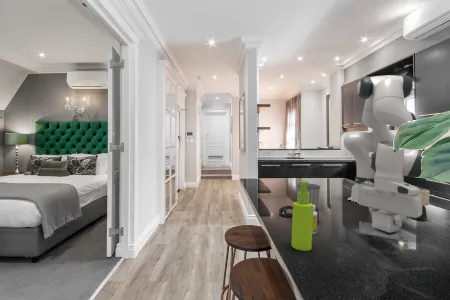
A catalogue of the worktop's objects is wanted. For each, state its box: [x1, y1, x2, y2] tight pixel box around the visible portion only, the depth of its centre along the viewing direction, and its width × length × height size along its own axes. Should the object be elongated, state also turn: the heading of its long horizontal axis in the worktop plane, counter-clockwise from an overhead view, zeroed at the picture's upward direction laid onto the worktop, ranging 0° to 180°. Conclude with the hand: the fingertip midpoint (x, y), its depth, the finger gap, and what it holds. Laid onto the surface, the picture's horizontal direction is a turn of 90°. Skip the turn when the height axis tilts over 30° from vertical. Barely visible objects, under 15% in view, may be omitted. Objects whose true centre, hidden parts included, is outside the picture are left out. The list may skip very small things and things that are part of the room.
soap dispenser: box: [290, 179, 313, 252], centre depth 75 cm, size 6×7×20 cm
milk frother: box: [278, 182, 321, 225], centre depth 102 cm, size 14×16×15 cm
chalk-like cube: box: [371, 209, 401, 233], centre depth 90 cm, size 6×6×6 cm
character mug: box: [410, 188, 431, 221], centre depth 107 cm, size 11×7×13 cm, turn 149°
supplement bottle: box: [312, 205, 318, 235], centre depth 87 cm, size 5×5×10 cm
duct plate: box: [358, 220, 409, 242], centre depth 90 cm, size 14×14×4 cm
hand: (386, 222), depth 90 cm, fingers open, 6 cm apart
